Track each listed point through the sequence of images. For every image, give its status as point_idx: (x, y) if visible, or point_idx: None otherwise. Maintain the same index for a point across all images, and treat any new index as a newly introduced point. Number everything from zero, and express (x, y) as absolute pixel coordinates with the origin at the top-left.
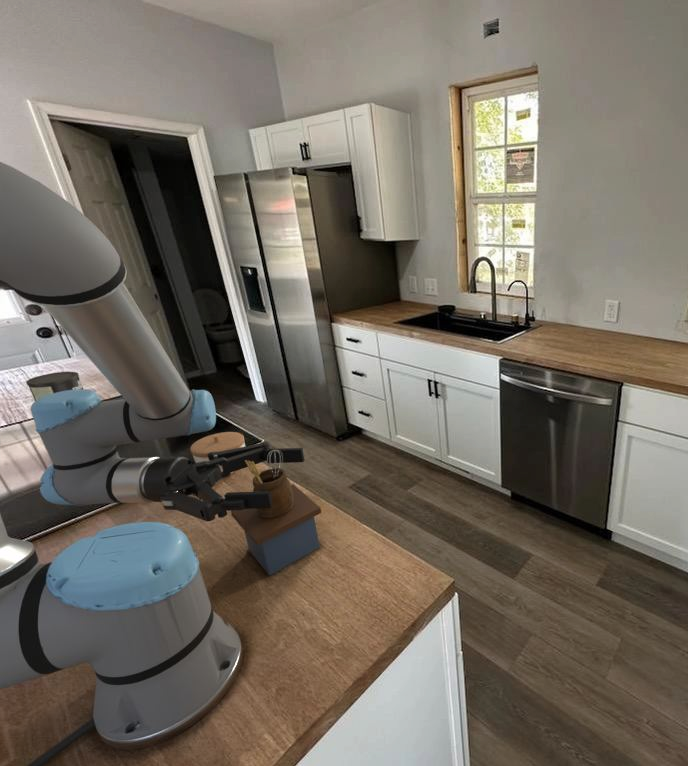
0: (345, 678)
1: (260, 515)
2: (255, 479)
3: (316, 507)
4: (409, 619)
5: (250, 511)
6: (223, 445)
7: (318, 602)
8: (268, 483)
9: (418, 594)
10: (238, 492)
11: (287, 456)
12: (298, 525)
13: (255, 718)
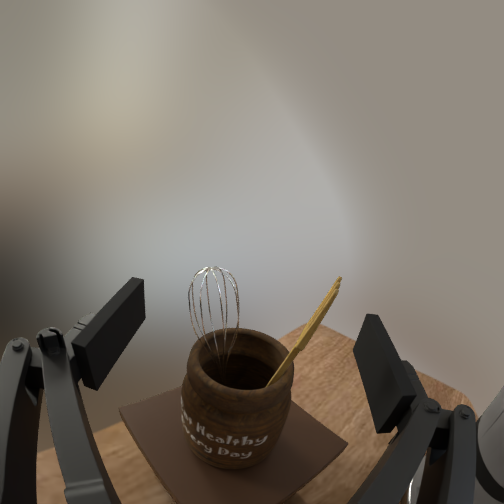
0: None
1: (265, 457)
2: (258, 389)
3: None
4: (354, 341)
5: (230, 491)
6: None
7: (345, 414)
8: (288, 353)
9: (325, 335)
10: (393, 368)
11: (125, 323)
12: None
13: None
